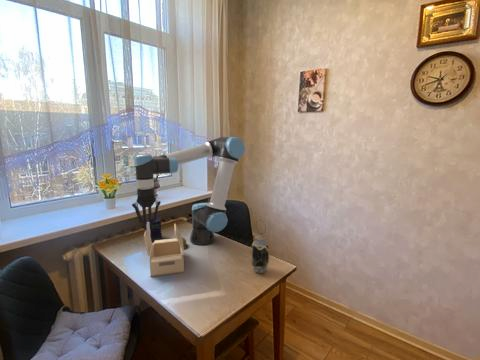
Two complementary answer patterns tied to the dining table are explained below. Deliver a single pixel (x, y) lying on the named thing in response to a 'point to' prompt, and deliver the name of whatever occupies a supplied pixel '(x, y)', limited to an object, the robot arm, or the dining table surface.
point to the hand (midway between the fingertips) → (148, 235)
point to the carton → (166, 257)
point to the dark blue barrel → (155, 230)
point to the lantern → (260, 253)
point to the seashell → (184, 243)
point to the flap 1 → (147, 242)
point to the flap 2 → (179, 237)
